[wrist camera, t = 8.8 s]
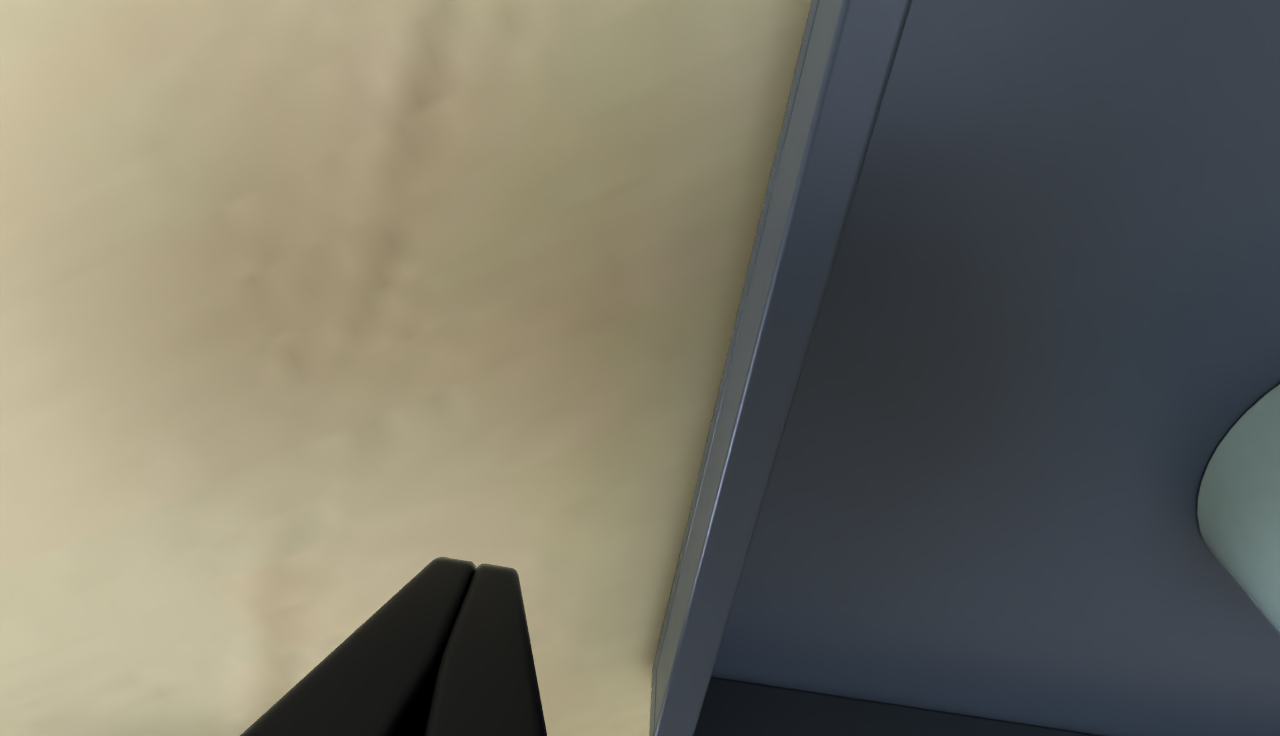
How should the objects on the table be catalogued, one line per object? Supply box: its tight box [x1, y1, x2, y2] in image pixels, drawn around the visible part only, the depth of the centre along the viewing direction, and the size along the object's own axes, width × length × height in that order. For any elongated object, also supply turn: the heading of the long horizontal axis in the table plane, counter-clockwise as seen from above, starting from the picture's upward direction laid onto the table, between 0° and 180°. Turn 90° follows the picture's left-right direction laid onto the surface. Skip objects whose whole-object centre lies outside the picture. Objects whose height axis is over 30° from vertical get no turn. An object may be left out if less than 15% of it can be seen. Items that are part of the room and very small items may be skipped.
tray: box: [649, 0, 1280, 736], centre depth 13 cm, size 18×18×2 cm
